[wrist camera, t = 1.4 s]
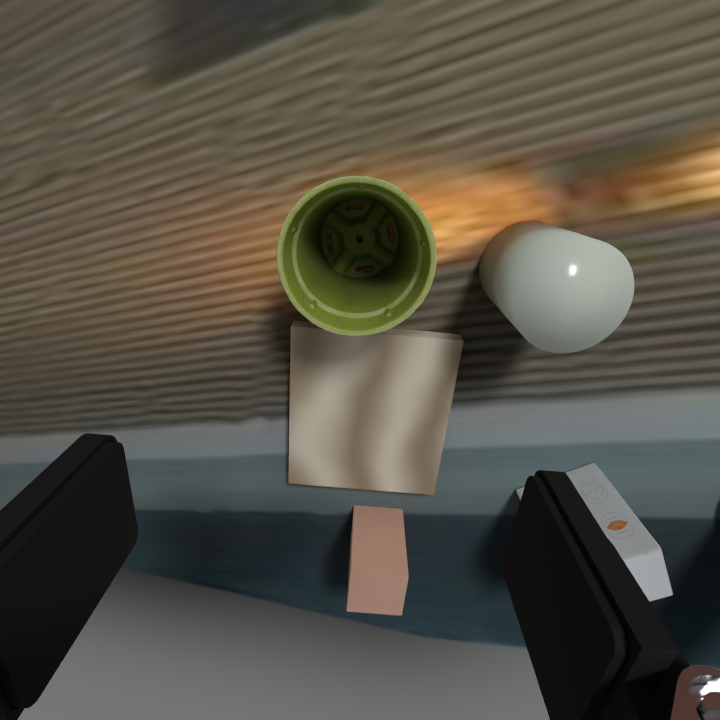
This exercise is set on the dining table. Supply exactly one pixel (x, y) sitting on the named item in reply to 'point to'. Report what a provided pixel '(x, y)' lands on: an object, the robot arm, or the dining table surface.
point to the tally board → (370, 407)
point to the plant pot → (356, 256)
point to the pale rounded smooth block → (556, 285)
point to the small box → (622, 530)
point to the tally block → (377, 561)
